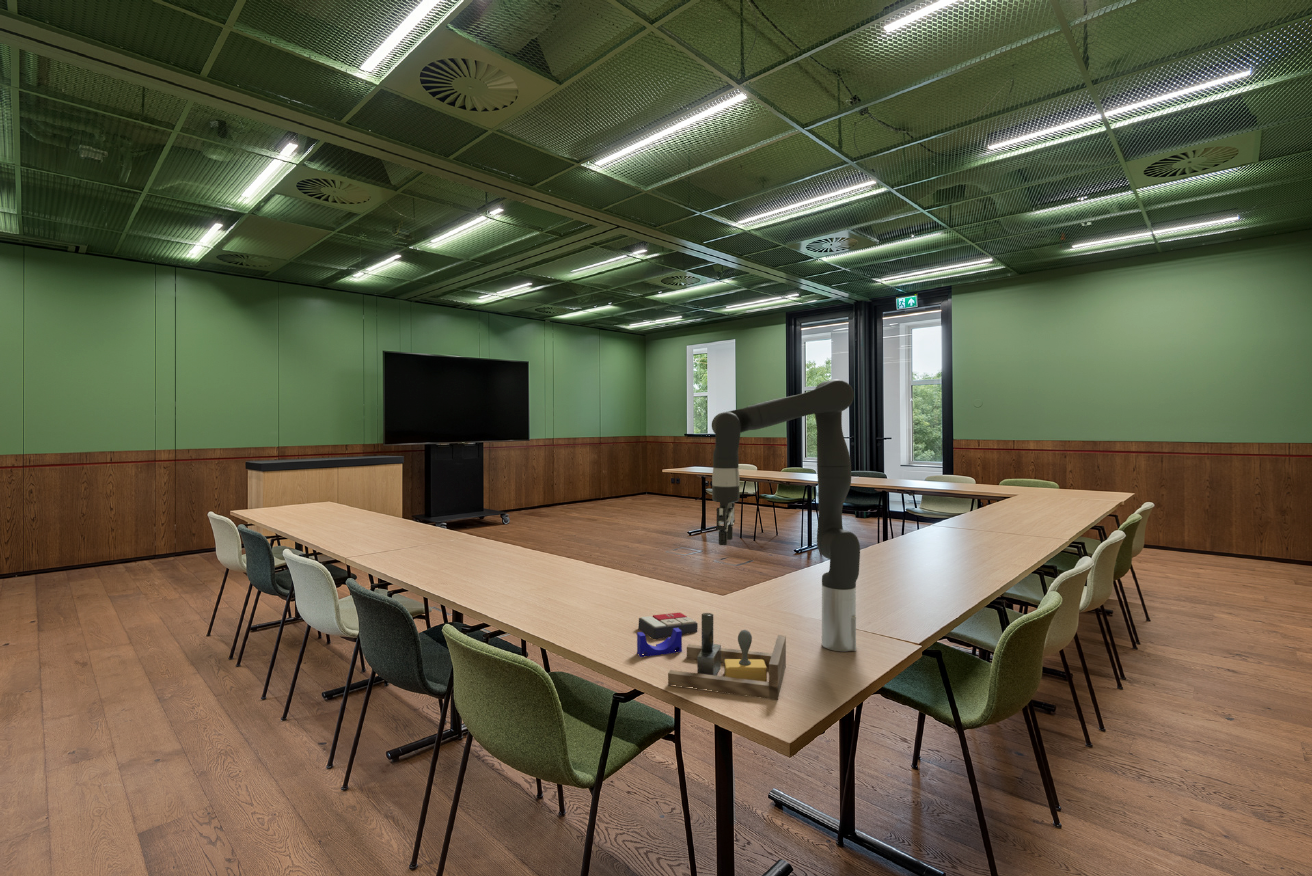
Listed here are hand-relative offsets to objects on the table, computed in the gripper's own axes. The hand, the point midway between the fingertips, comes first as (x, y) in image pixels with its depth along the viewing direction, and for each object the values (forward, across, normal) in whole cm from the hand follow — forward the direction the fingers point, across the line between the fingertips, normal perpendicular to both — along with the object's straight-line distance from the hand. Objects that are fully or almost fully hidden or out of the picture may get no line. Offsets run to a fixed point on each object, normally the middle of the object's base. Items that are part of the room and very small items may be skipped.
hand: (725, 542), depth 166 cm
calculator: (+31, +11, +20) cm, 38 cm away
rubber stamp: (+30, -17, -8) cm, 36 cm away
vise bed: (+30, -17, -5) cm, 35 cm away
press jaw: (+30, -17, +1) cm, 34 cm away
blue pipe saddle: (+30, -7, +18) cm, 36 cm away
